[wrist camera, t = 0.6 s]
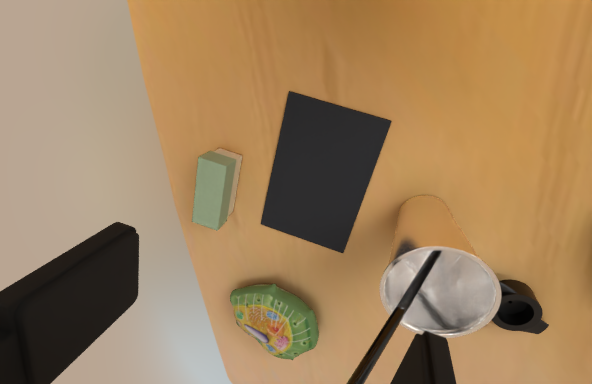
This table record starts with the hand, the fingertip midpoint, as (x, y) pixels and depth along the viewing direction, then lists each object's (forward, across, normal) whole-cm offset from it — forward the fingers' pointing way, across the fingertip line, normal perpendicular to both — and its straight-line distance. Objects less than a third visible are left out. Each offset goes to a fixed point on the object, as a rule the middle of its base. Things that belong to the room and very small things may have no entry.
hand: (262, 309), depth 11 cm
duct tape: (+34, -26, +17) cm, 46 cm away
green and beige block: (+34, +16, +13) cm, 40 cm away
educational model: (+35, +3, +33) cm, 48 cm away
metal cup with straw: (+34, -11, +10) cm, 37 cm away
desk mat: (+34, +3, +8) cm, 35 cm away
